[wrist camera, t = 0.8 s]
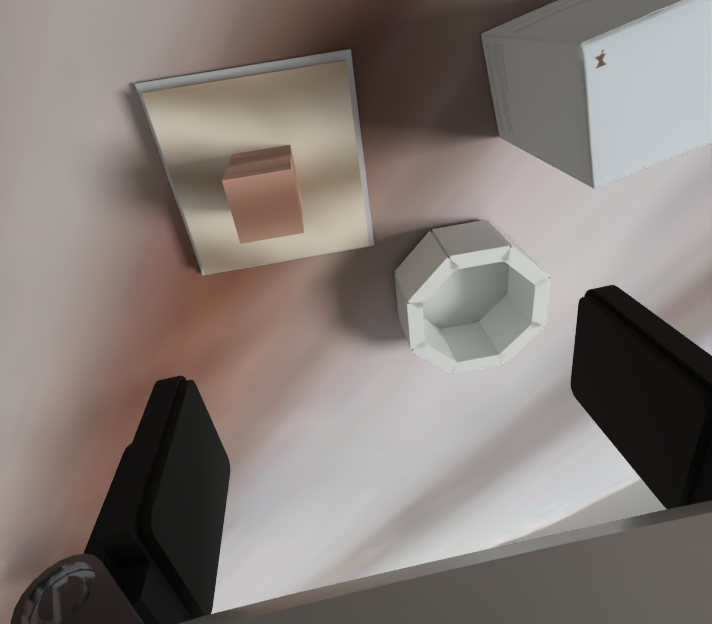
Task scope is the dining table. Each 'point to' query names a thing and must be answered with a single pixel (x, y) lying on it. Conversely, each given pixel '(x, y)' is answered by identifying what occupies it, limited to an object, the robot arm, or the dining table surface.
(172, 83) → the mat
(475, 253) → the bowl
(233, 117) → the lid
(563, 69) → the supplement box
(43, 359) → the dining table surface
